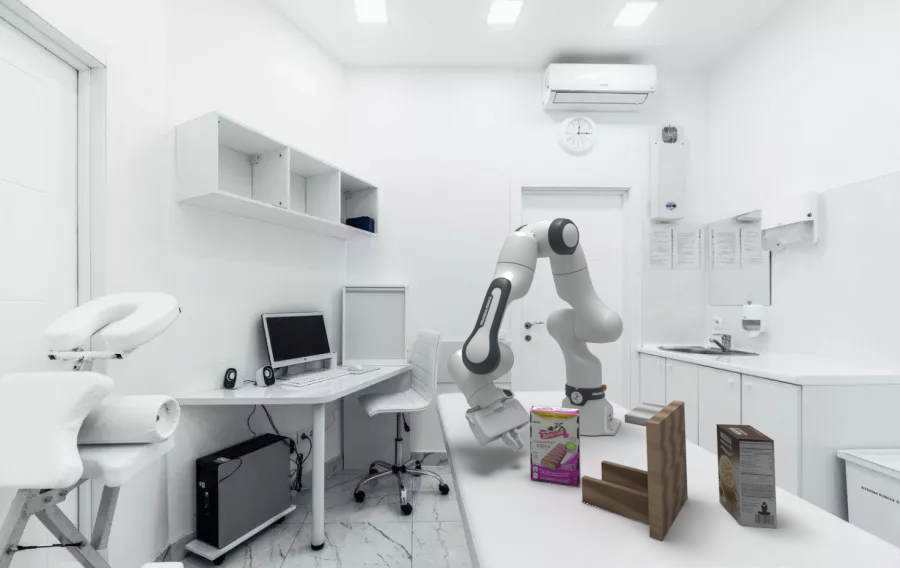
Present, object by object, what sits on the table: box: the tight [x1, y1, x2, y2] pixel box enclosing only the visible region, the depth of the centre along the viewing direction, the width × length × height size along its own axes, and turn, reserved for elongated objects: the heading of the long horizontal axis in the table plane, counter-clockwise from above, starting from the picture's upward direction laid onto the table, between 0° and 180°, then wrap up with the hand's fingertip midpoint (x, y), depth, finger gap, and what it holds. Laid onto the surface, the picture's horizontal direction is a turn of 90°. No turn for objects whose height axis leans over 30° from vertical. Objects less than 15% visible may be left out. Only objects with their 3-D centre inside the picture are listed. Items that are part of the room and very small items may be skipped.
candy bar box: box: [529, 404, 581, 487], centre depth 94 cm, size 11×5×16 cm, turn 71°
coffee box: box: [716, 423, 778, 529], centre depth 78 cm, size 9×6×16 cm
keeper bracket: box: [581, 400, 689, 542], centre depth 82 cm, size 20×16×20 cm
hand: (519, 448), depth 100 cm, fingers closed
